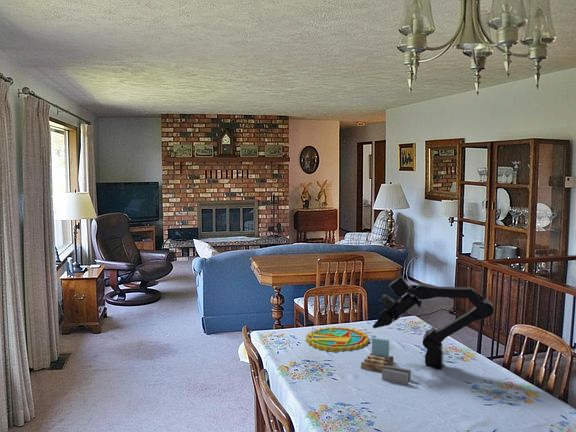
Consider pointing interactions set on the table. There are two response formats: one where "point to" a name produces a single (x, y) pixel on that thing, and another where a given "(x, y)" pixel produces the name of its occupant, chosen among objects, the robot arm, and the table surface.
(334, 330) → the decorative plaque
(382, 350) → the tall sheet
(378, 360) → the offcut small
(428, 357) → the robot arm
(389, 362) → the rack
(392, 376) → the holder
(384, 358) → the offcut front
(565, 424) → the table surface
